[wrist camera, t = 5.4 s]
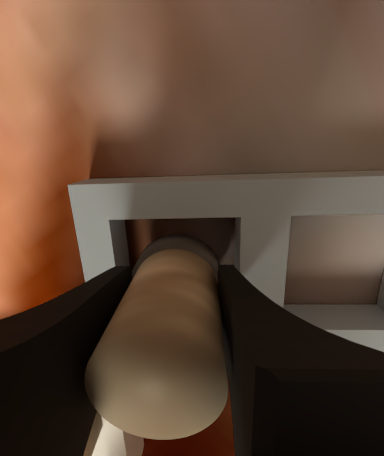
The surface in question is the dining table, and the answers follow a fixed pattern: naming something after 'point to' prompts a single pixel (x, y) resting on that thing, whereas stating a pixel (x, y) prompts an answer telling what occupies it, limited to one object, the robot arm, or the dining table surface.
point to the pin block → (236, 227)
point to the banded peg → (163, 345)
